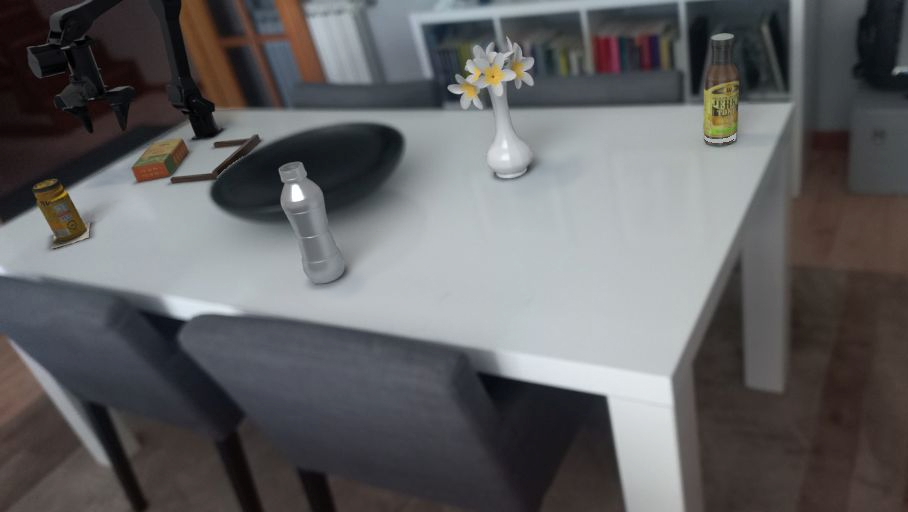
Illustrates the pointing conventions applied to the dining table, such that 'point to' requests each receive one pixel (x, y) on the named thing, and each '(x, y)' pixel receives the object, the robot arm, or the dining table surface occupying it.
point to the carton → (159, 160)
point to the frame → (241, 151)
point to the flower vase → (498, 104)
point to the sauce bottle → (721, 91)
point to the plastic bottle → (310, 224)
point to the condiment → (60, 213)
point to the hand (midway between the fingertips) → (108, 131)
